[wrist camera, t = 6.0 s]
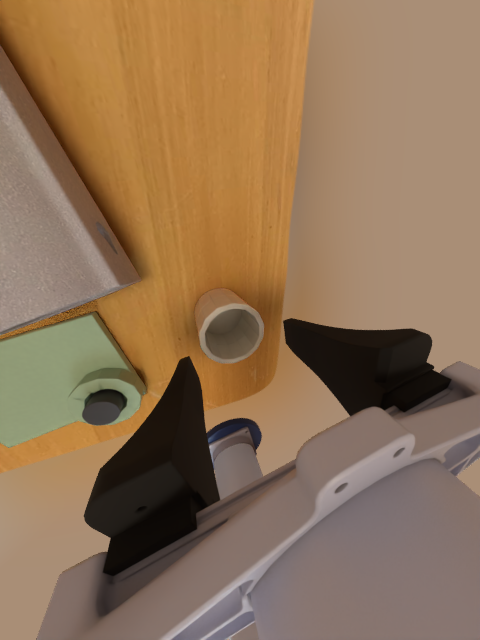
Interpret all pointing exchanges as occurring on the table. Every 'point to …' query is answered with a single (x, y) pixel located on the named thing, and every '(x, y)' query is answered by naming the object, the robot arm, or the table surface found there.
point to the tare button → (103, 407)
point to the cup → (227, 326)
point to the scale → (60, 377)
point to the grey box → (47, 220)
